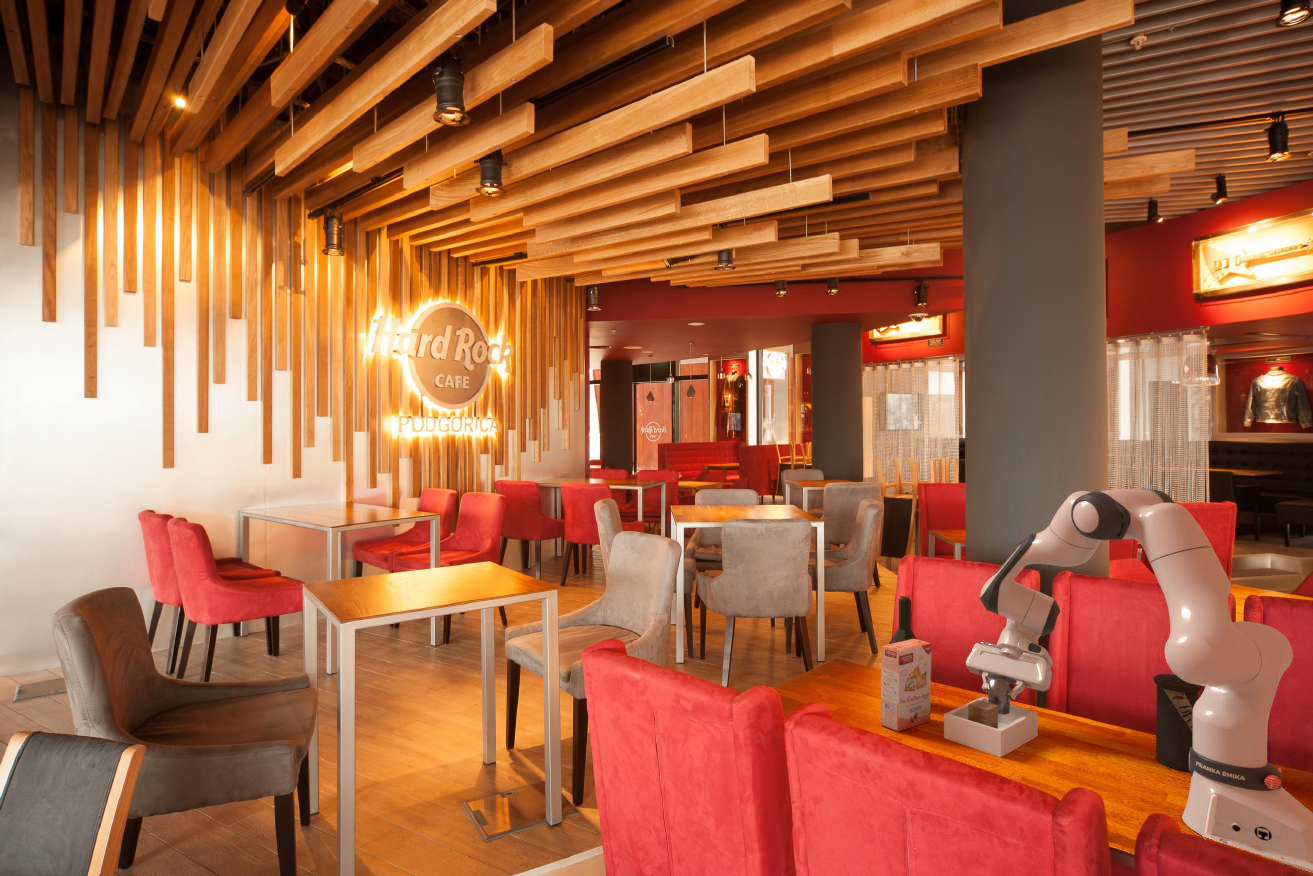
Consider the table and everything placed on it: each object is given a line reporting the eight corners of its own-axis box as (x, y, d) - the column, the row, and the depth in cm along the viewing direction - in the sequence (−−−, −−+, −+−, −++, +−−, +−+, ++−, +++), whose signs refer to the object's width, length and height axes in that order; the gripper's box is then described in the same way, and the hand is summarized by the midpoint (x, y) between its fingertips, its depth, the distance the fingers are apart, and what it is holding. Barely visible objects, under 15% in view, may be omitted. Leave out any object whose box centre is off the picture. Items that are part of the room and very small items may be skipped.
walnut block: (997, 738, 174) (997, 705, 174) (988, 743, 171) (988, 710, 171) (977, 732, 178) (977, 700, 178) (968, 737, 175) (968, 704, 175)
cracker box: (899, 733, 179) (899, 650, 179) (879, 726, 184) (880, 645, 184) (932, 721, 187) (932, 642, 187) (912, 714, 192) (912, 637, 192)
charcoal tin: (1010, 709, 181) (1010, 678, 181) (1009, 716, 177) (1009, 683, 177) (988, 705, 184) (988, 675, 184) (987, 712, 179) (987, 680, 179)
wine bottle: (882, 699, 203) (883, 595, 204) (904, 695, 207) (905, 592, 207) (904, 709, 196) (904, 600, 196) (926, 705, 199) (927, 598, 200)
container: (1182, 774, 158) (1182, 684, 158) (1144, 757, 166) (1144, 672, 167) (1211, 770, 160) (1211, 681, 160) (1172, 753, 169) (1172, 669, 169)
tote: (1037, 736, 178) (1037, 712, 178) (1000, 757, 166) (1000, 731, 166) (982, 719, 189) (982, 696, 189) (944, 738, 176) (944, 714, 176)
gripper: (972, 633, 193) (954, 676, 187) (1052, 650, 177) (1035, 698, 171) (980, 647, 196) (962, 689, 189) (1059, 665, 180) (1043, 712, 174)
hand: (997, 694), depth 180 cm, fingers closed on charcoal tin, 5 cm apart
